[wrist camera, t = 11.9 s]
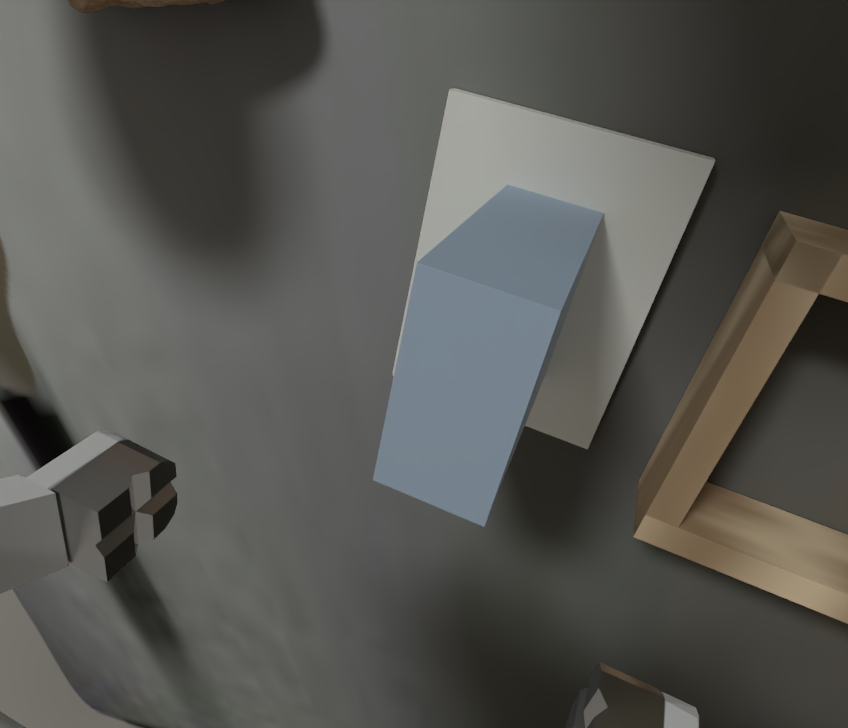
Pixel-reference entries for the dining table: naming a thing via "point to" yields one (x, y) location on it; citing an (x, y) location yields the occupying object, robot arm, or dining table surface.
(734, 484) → the dining table surface
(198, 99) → the dining table surface
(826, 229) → the wooden tray
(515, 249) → the blue grey block
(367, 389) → the dining table surface
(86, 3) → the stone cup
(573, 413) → the mat
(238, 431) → the dining table surface
